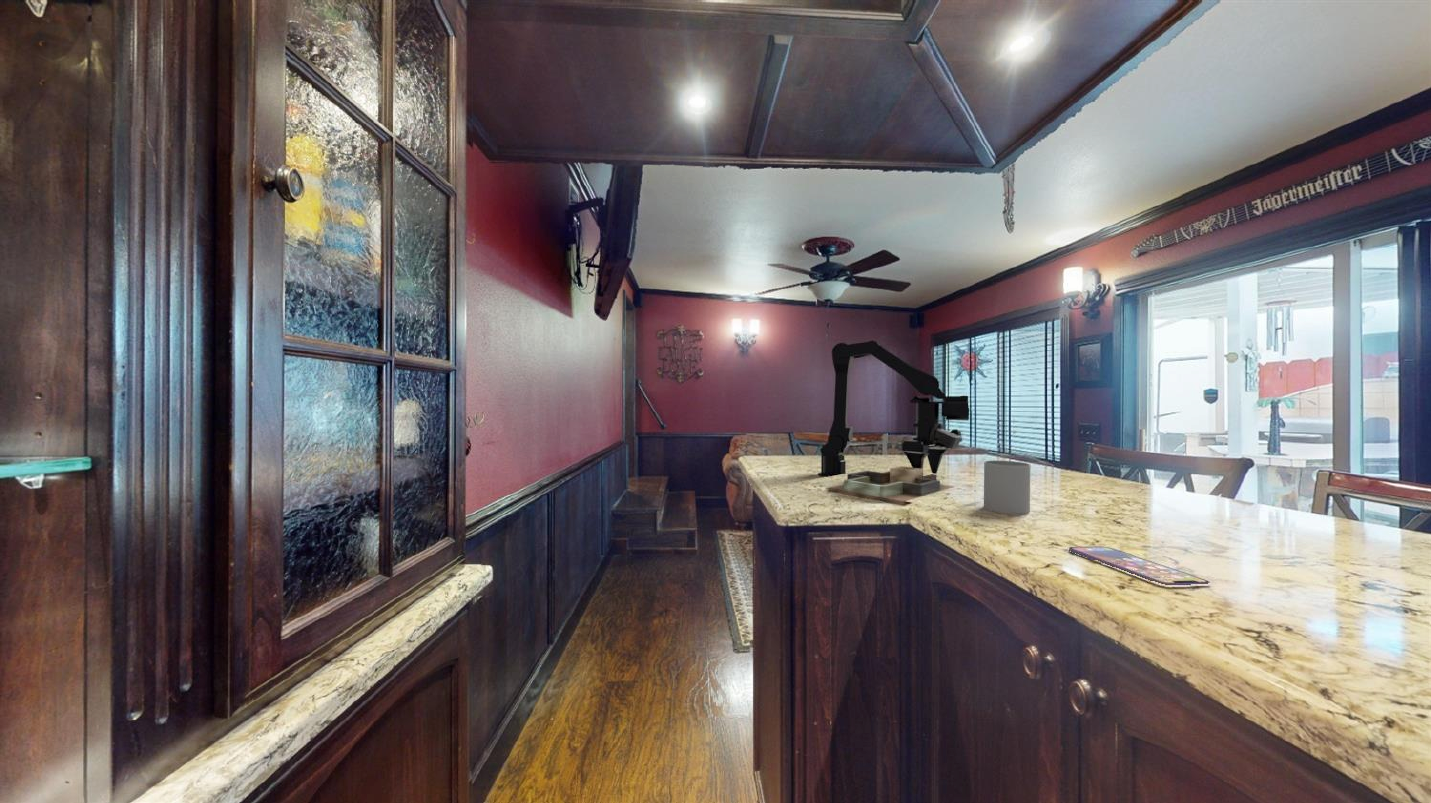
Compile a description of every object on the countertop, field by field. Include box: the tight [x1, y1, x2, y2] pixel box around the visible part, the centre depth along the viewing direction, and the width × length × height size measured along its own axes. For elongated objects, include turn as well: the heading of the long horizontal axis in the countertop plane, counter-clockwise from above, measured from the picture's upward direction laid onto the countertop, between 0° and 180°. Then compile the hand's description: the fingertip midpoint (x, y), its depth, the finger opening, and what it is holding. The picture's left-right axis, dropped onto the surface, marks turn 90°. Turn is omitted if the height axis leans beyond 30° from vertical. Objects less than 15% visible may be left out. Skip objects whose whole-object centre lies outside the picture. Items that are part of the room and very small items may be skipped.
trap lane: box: [827, 470, 954, 507], centre depth 122 cm, size 20×26×4 cm
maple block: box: [889, 465, 924, 484], centre depth 127 cm, size 6×6×4 cm
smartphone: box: [1068, 546, 1211, 585], centre depth 69 cm, size 1×7×15 cm
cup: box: [983, 460, 1031, 516], centre depth 102 cm, size 8×8×10 cm
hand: (926, 475), depth 134 cm, fingers open, 9 cm apart
